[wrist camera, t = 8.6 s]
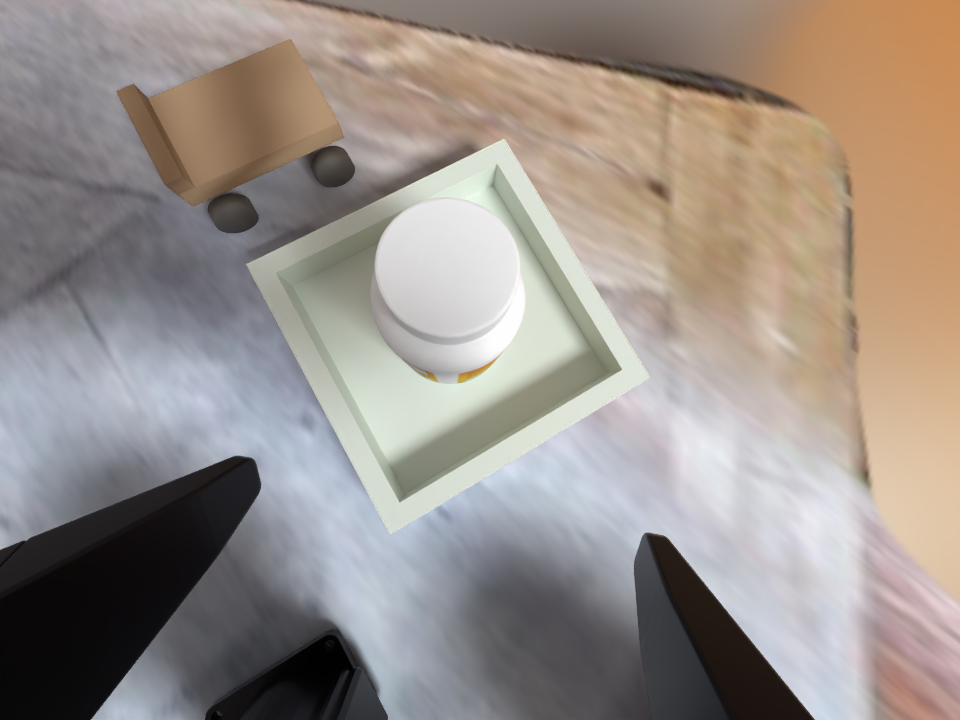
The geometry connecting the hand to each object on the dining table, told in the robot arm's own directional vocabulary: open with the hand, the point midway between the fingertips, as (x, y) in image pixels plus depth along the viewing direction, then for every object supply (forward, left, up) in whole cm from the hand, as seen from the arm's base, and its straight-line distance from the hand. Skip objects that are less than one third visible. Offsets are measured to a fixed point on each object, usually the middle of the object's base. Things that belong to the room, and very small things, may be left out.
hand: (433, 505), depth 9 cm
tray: (+3, +5, -11) cm, 13 cm away
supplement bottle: (+3, +5, -11) cm, 12 cm away
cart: (-1, +19, -11) cm, 22 cm away
